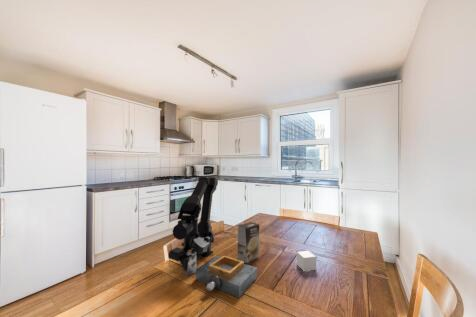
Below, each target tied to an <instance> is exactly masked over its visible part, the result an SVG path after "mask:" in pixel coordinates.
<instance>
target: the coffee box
mask: <svg viewBox="0 0 476 317" xmlns="http://www.w3.org/2000/svg"><path fill="white" fill-rule="evenodd" d="M236 255H237V257H236V259H237V260H240V261H244V264H246V263H247V264H248V263H249V262H252V261H254V260H256V259H257V258H260V224H259V223H256V222H251V221H250V222H249V221H248V222H246V223H245V222H244V223H242V224H237V254H236Z"/></svg>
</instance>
